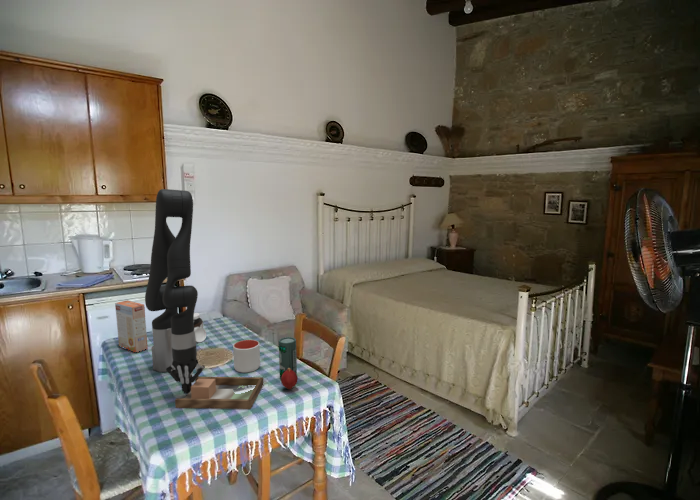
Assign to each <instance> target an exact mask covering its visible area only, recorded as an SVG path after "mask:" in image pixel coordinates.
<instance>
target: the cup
mask: <svg viewBox="0 0 700 500" xmlns="http://www.w3.org/2000/svg"><path fill="white" fill-rule="evenodd" d="M260 349H261V348H260V341H257V340H255V339H244V340H240V341H236V342H235V343H234V344H233V345H232V350H233V351H232V352H233V368H234V370H235V371H236V372H238V373H243V374H245V373H252V372H254V371H257V370H258V369H259V368H260V367H261V354H260V353H261V350H260Z"/></svg>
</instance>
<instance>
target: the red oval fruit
mask: <svg viewBox="0 0 700 500" xmlns="http://www.w3.org/2000/svg"><path fill="white" fill-rule="evenodd" d="M298 379H299V378H298V373H297V374H296V373H295V372H294V371H293V370H291V369H290V368H288V369H287V370H286V371H285V372H284V373H283V374H282V377H281V381H280V382H281V385H282V386H283V387H284V388H286V389H287V390H289V391H290V390H292V389H293V388H294V387H296V385H297V384H298Z"/></svg>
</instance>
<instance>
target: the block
mask: <svg viewBox="0 0 700 500" xmlns="http://www.w3.org/2000/svg"><path fill="white" fill-rule="evenodd" d="M215 392H216V381H215V379H198V380H197V381H194V382H193V384H192V386H191V397H192V399H210V398H211V397H212V396H213V394H214V393H215Z"/></svg>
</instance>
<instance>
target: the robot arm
mask: <svg viewBox="0 0 700 500" xmlns="http://www.w3.org/2000/svg"><path fill="white" fill-rule="evenodd" d="M154 212H155V217H154V218H155V220H154V233H153V241H152V247H151V255H150V267H149V276H148V281H147V284H146V289H145V295H144V305H145V307H146V309H147V310H148V311H149V312H158V311H163V312H162V313H160V314H159V315H158V316H157V317H155V318H154V319H153V320H152V321H151V329H152V330H151V331H152V341H153V345H152V346H151V358H152V359H151V360H152V369H153V371H156V372H158V373H159V372H160V373H168V374H169V375H170V377H172V379H173V380H174V381H175V382H176V383H180V384H181V391H182V392H183V394H186V395H187V394H188V393H189V392H190V391H191V386H192V385H193V384H192V383H195V382H196V381H195V380H196V379H197V377H200V375H201V373H202V372H203V371H204V370H205V368H206V367H205V365H203V364H202V365H201V364H200V363H199V360H198V357H197V355H198V354H197V353H198V352H197V342H196V337H195V332H194V313H195V309H196V305H197V302H198V296H199V292H198V290H197V287H195V286H194V285H179V286H178V285H177V286H176V283H177V282H178V281H181V280H185V279H188V278H190V277H191V275H192V274H191V273H192V272H191V271H192V270H191V268H192V267H191V265H192V264H191V239H192V231H193V230H192V229H193V215H194V199H193V195H192V193H191V192H190V191H188V190H180V189H167V188H162V189H159V190H158V191H157V194H156V199H155V211H154ZM167 218H181V225H180V229H179V231H178V233H177V235H176V236H175V235H174V233H173V232H172V231H171V229H170V227H169V225H168V223H167ZM165 280H166V283H165V285H163V282H165ZM180 308H186V309H185V310H184V311H182V312H179V309H180ZM194 370H195V374H194ZM193 374H194V375H193Z"/></svg>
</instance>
